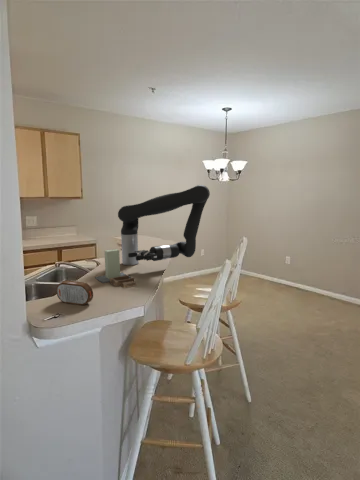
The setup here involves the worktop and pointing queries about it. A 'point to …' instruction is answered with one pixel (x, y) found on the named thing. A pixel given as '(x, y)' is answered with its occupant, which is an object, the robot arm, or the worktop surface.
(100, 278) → the mat
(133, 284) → the offcut top
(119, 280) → the rack
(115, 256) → the sage green upright pillar
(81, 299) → the tin
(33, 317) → the worktop surface
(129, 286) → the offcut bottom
